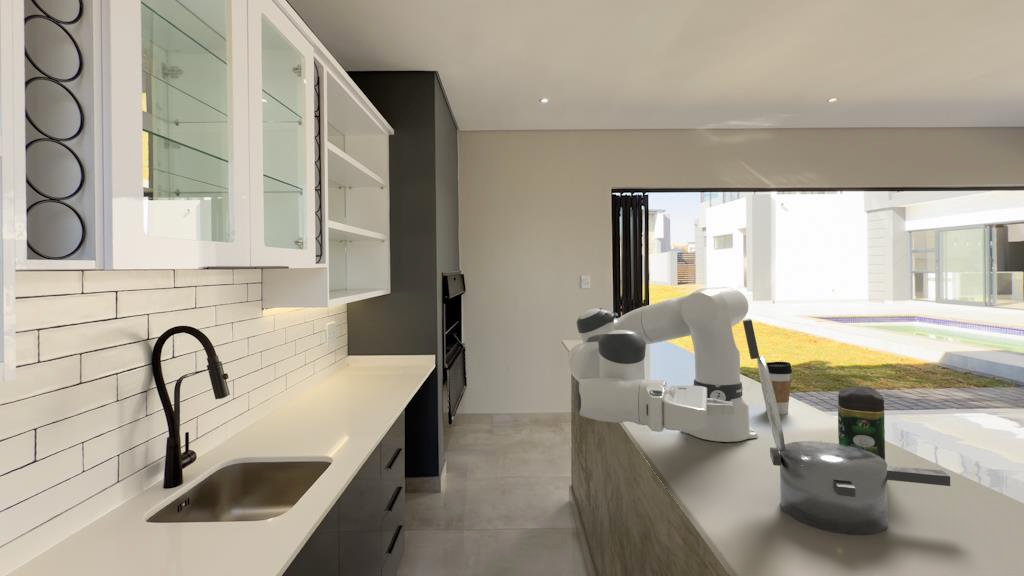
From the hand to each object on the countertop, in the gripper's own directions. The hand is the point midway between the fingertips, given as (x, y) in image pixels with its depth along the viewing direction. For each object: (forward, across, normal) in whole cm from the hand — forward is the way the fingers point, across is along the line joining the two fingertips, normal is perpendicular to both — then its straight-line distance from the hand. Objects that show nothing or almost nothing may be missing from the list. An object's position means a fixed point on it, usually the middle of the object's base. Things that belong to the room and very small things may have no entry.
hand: (733, 408), depth 94 cm
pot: (+19, -1, -17) cm, 26 cm away
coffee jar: (+25, -20, -18) cm, 37 cm away
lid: (+6, -1, +5) cm, 8 cm away
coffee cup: (+15, -70, -18) cm, 74 cm away
